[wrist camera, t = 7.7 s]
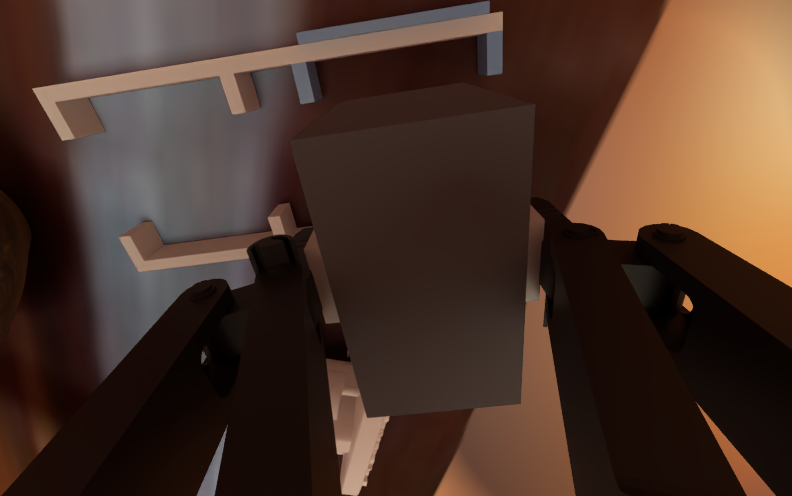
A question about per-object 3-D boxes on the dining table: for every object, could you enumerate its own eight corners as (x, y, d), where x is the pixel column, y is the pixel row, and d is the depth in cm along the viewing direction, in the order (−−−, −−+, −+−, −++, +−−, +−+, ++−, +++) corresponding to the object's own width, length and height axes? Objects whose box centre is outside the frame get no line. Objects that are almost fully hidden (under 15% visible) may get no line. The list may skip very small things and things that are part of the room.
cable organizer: (295, 296, 36) (256, 389, 26) (395, 313, 37) (395, 410, 27) (284, 392, 43) (250, 496, 32) (368, 404, 44) (360, 508, 34)
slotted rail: (159, 255, 33) (132, 277, 30) (64, 77, 26) (15, 79, 23) (492, 212, 31) (504, 230, 28) (490, 6, 24) (506, -3, 21)
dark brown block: (375, 281, 18) (363, 418, 11) (339, 101, 14) (284, 141, 7) (473, 270, 18) (523, 403, 11) (466, 82, 14) (540, 103, 7)
